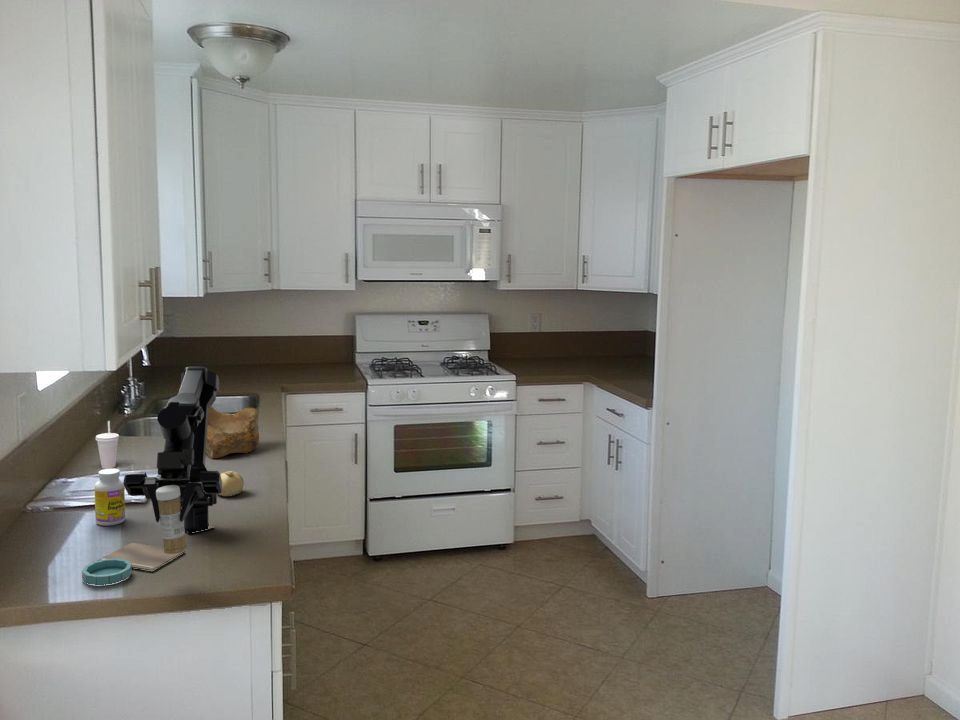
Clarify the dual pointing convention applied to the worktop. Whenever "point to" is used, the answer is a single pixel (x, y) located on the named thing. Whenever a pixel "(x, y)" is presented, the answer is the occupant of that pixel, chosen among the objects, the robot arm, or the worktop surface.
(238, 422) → the rough brown rock
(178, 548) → the sprinkles bottle
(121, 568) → the bowl
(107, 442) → the smoothie
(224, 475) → the onion
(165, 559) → the board
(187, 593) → the worktop surface
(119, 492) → the supplement bottle
